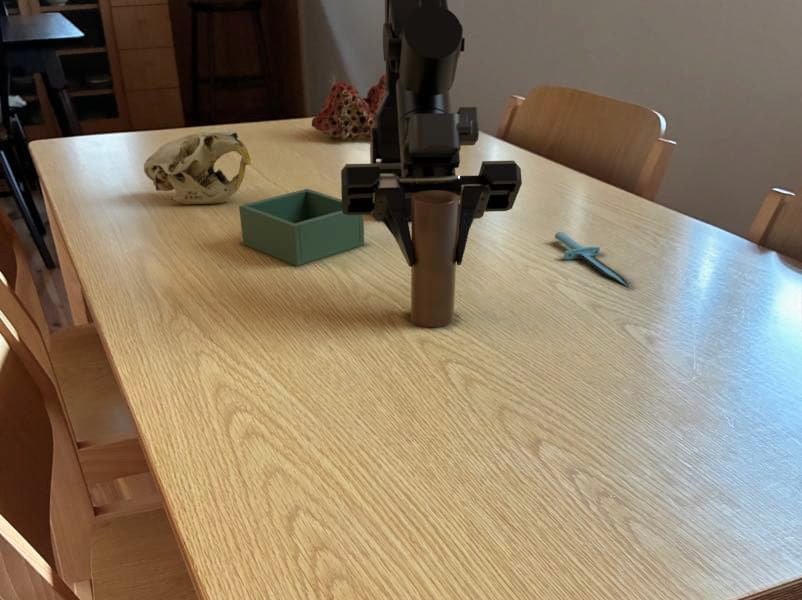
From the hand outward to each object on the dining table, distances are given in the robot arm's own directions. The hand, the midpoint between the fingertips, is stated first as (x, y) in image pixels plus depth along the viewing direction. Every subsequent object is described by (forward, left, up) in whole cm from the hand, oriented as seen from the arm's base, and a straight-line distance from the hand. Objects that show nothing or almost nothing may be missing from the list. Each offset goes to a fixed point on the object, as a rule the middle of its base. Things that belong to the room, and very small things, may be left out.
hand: (435, 264), depth 85 cm
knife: (-28, -5, -7) cm, 29 cm away
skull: (+4, -57, -7) cm, 57 cm away
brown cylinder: (-1, -1, -7) cm, 7 cm away
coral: (-38, -81, -7) cm, 89 cm away
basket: (0, -31, -7) cm, 31 cm away
